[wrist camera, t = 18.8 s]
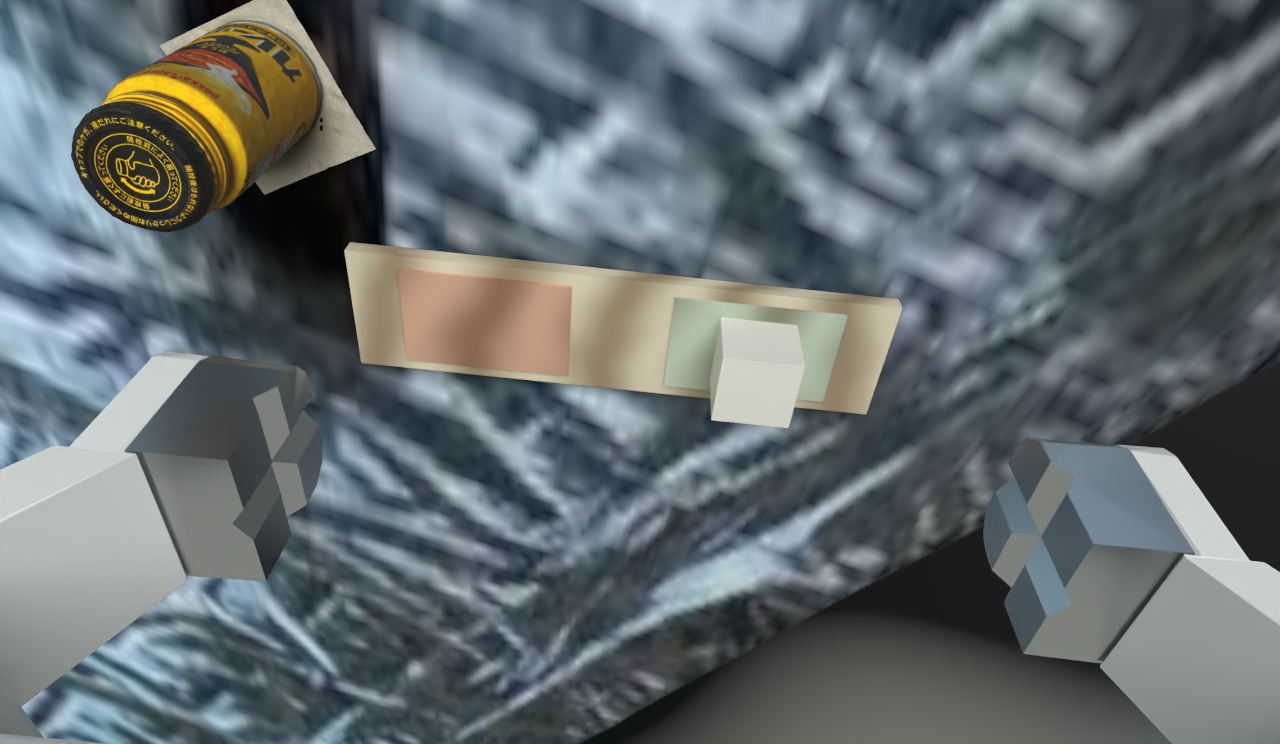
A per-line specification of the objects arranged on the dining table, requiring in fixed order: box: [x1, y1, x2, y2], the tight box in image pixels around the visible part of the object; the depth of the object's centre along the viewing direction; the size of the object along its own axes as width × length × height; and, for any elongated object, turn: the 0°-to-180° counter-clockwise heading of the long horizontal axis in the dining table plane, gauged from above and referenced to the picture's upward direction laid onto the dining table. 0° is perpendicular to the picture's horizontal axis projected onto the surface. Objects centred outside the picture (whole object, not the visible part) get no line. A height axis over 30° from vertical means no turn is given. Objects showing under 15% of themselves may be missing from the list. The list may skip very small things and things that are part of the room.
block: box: [710, 317, 805, 428], centre depth 46 cm, size 4×4×4 cm
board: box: [344, 242, 902, 414], centre depth 48 cm, size 32×8×1 cm, turn 85°
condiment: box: [71, 0, 376, 232], centre depth 37 cm, size 7×8×12 cm
